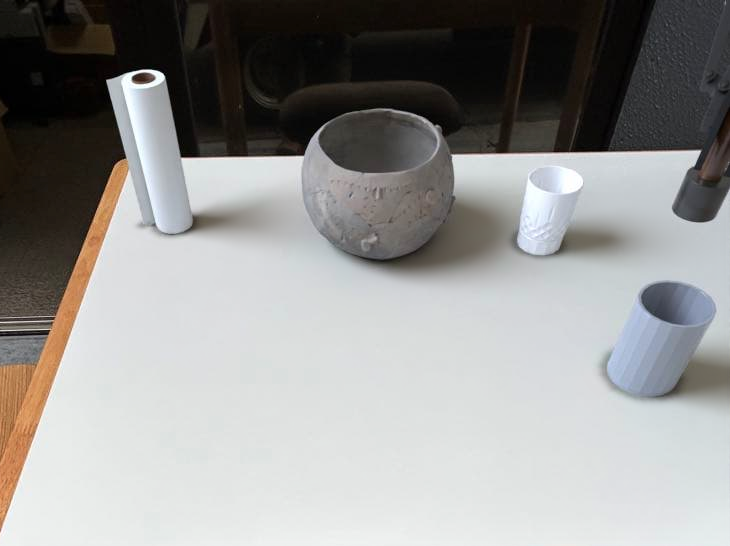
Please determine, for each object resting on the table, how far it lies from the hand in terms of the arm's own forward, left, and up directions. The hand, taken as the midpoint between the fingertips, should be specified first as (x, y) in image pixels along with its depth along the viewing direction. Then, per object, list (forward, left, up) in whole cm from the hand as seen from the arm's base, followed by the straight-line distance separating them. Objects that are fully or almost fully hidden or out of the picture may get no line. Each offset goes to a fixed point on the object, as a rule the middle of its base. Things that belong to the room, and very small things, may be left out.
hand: (714, 167), depth 69 cm
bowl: (+43, -8, -24) cm, 50 cm away
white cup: (+19, -18, -24) cm, 36 cm away
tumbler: (-3, +4, -24) cm, 25 cm away
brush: (0, -4, -7) cm, 8 cm away
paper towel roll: (+74, +5, -24) cm, 78 cm away
